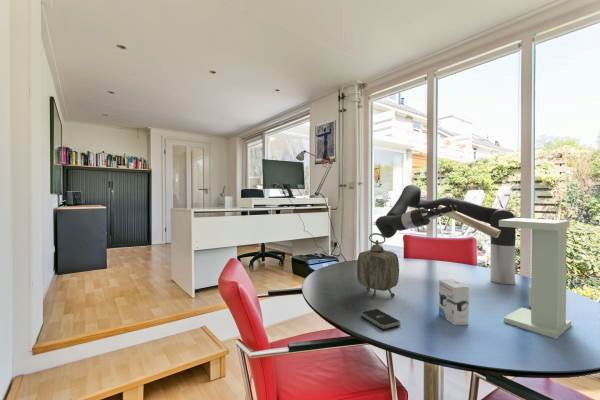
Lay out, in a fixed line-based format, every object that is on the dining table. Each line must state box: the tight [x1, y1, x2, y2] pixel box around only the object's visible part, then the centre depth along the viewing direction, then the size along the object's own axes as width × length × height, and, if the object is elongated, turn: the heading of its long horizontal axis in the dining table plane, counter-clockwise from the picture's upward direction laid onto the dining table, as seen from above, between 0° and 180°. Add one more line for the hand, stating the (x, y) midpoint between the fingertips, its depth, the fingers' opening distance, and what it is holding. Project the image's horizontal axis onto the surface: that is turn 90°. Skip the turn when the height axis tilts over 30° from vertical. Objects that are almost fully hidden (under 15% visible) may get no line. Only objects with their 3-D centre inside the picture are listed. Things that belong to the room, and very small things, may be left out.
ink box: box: [438, 279, 470, 326], centre depth 90 cm, size 8×5×12 cm, turn 5°
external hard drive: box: [360, 308, 401, 332], centre depth 89 cm, size 7×11×2 cm, turn 25°
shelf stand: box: [499, 217, 572, 339], centre depth 87 cm, size 14×14×32 cm
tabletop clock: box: [356, 232, 400, 298], centre depth 111 cm, size 14×9×25 cm, turn 47°
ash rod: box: [438, 205, 501, 238], centre depth 104 cm, size 3×22×3 cm, turn 34°
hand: (453, 208), depth 108 cm, fingers closed on ash rod, 2 cm apart
